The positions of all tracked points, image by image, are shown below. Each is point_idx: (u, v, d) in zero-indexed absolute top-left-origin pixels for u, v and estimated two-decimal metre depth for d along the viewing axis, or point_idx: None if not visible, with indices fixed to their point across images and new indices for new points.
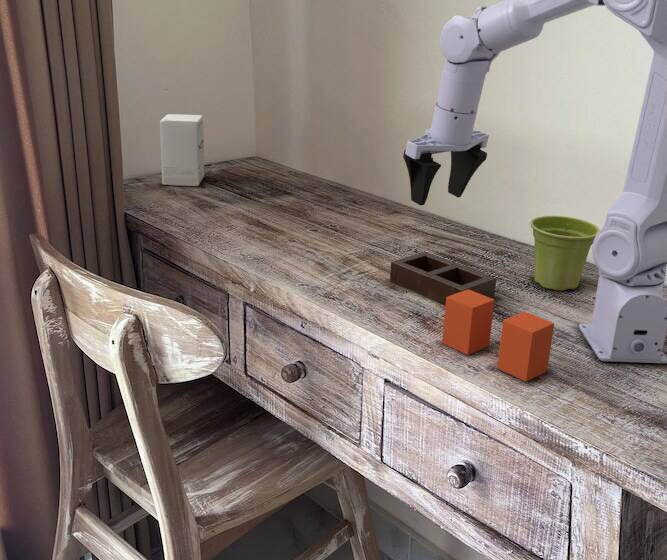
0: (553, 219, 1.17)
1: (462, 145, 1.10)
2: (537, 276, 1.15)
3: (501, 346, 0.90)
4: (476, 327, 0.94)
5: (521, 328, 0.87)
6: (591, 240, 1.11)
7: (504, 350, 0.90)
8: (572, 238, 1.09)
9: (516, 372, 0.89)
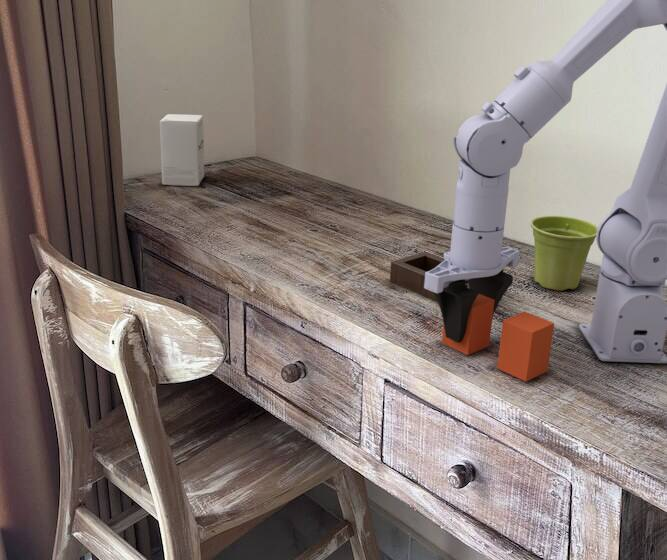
0: (553, 219, 1.17)
1: (492, 269, 0.91)
2: (537, 276, 1.15)
3: (501, 346, 0.90)
4: (476, 327, 0.94)
5: (521, 328, 0.87)
6: (591, 240, 1.11)
7: (504, 350, 0.90)
8: (572, 238, 1.09)
9: (516, 372, 0.89)
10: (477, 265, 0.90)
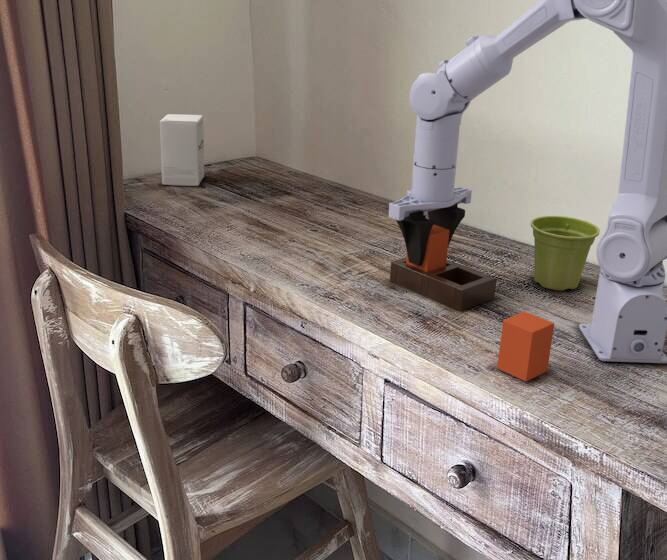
0: (553, 219, 1.17)
1: (445, 201, 1.08)
2: (537, 276, 1.15)
3: (501, 346, 0.90)
4: (434, 252, 1.11)
5: (521, 328, 0.87)
6: (591, 240, 1.11)
7: (504, 350, 0.90)
8: (572, 238, 1.09)
9: (516, 372, 0.89)
10: (433, 198, 1.07)
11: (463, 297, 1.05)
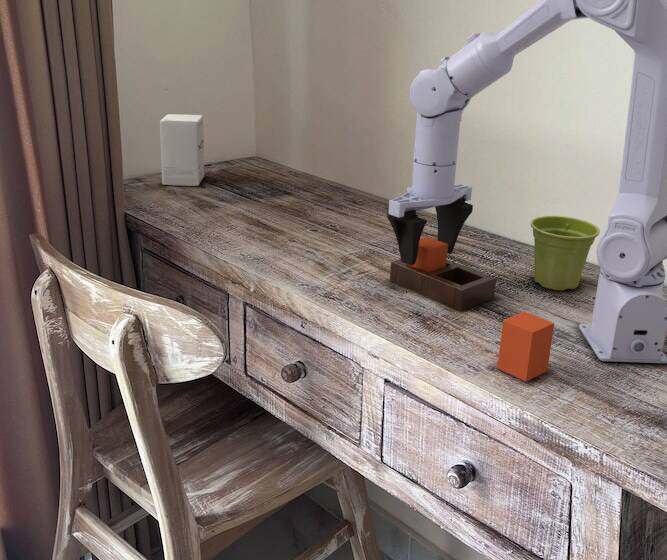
0: (553, 219, 1.17)
1: (446, 198, 1.08)
2: (537, 276, 1.15)
3: (501, 346, 0.90)
4: (432, 266, 1.12)
5: (521, 328, 0.87)
6: (591, 240, 1.11)
7: (504, 350, 0.90)
8: (572, 238, 1.09)
9: (516, 372, 0.89)
10: (433, 195, 1.07)
11: (463, 297, 1.05)
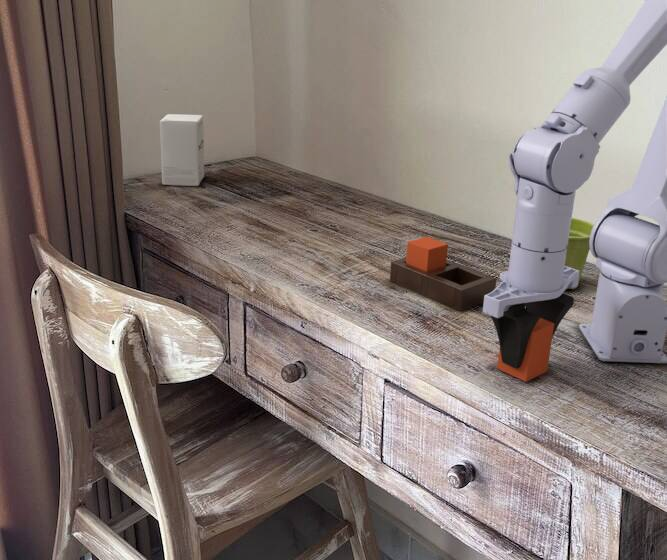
0: None
1: (554, 291, 0.85)
2: None
3: None
4: (432, 266, 1.12)
5: None
6: None
7: None
8: (572, 238, 1.09)
9: (516, 372, 0.89)
10: (539, 287, 0.84)
11: (463, 297, 1.05)
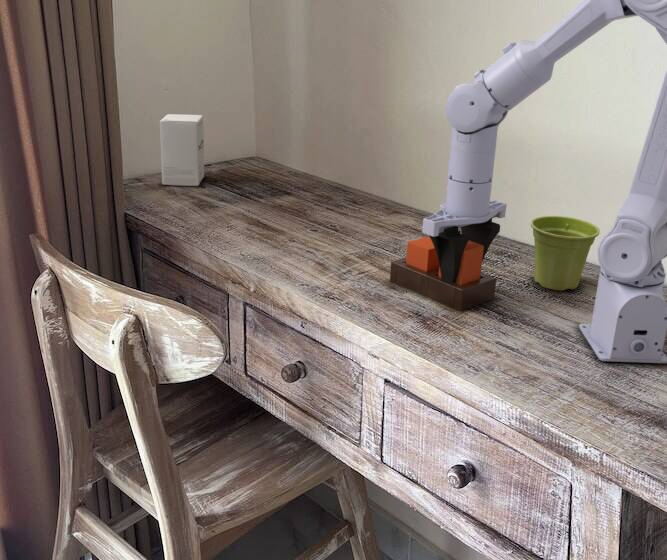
0: (553, 219, 1.17)
1: (481, 216, 1.04)
2: (537, 276, 1.15)
3: None
4: (432, 266, 1.12)
5: None
6: (591, 240, 1.11)
7: None
8: (572, 238, 1.09)
9: None
10: (468, 213, 1.03)
11: (463, 297, 1.05)
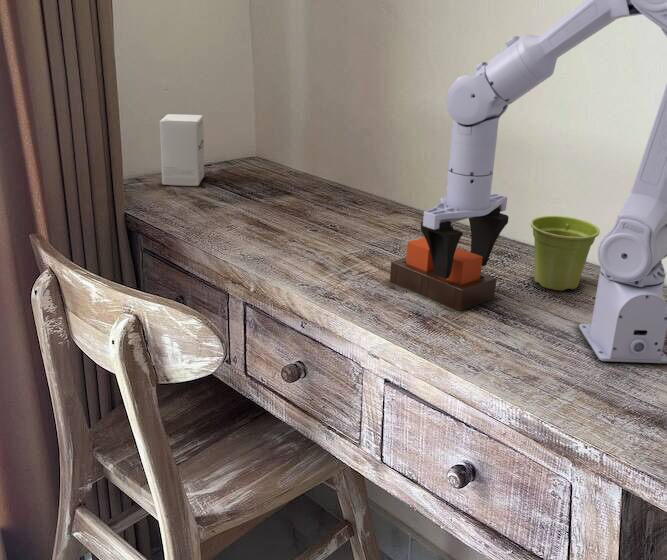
0: (553, 219, 1.17)
1: (482, 209, 1.03)
2: (537, 276, 1.15)
3: None
4: (432, 266, 1.12)
5: (454, 259, 1.07)
6: (591, 240, 1.11)
7: None
8: (572, 238, 1.09)
9: None
10: (469, 206, 1.03)
11: (463, 297, 1.05)
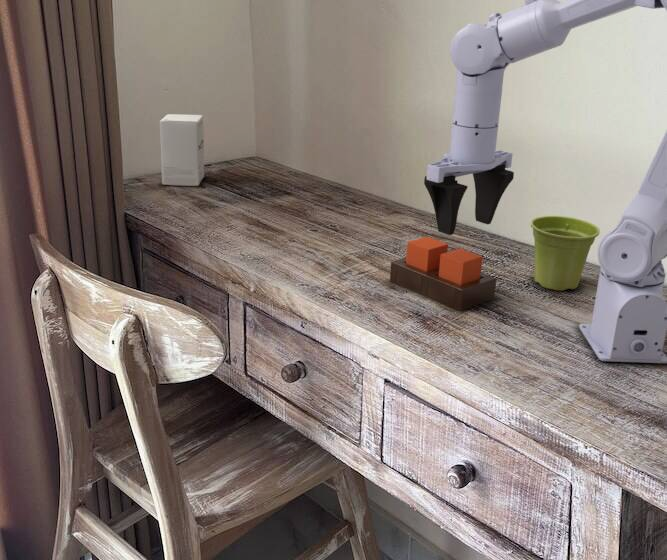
0: (553, 219, 1.17)
1: (487, 163, 1.01)
2: (537, 276, 1.15)
3: (439, 276, 1.09)
4: (432, 266, 1.12)
5: (454, 259, 1.07)
6: (591, 240, 1.11)
7: None
8: (572, 238, 1.09)
9: None
10: (474, 159, 1.01)
11: (463, 297, 1.05)
